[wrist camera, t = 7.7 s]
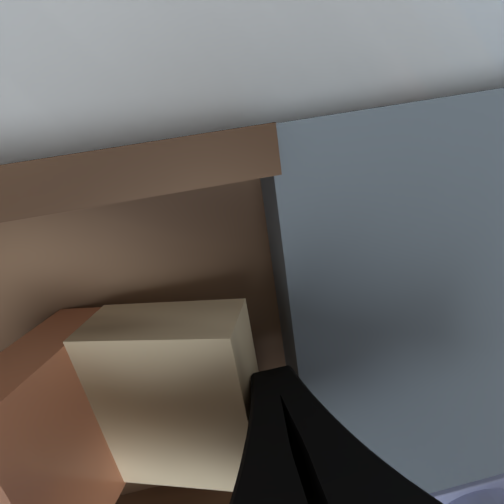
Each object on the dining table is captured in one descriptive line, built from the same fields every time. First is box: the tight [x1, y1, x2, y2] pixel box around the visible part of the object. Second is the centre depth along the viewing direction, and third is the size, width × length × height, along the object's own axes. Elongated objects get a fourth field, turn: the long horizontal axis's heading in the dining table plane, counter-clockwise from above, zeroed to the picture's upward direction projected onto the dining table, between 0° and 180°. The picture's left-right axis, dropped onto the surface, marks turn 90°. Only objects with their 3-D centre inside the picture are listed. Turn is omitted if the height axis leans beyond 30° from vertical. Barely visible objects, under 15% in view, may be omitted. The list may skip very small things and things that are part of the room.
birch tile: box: [63, 298, 259, 492], centre depth 11 cm, size 6×5×2 cm
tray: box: [0, 122, 286, 504], centre depth 11 cm, size 16×13×4 cm
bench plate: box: [260, 88, 504, 493], centre depth 13 cm, size 16×14×3 cm
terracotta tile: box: [0, 307, 126, 504], centre depth 10 cm, size 6×5×2 cm
